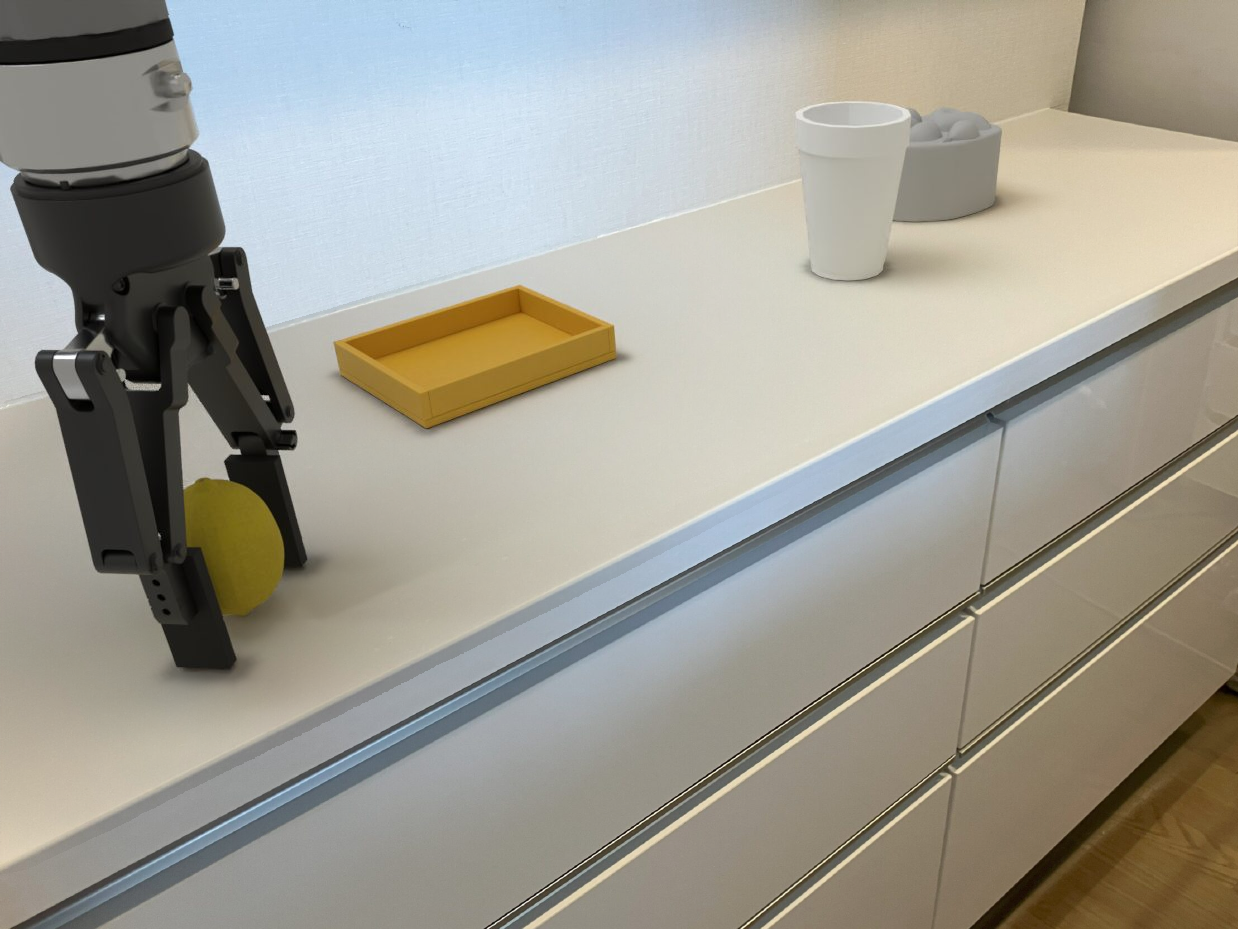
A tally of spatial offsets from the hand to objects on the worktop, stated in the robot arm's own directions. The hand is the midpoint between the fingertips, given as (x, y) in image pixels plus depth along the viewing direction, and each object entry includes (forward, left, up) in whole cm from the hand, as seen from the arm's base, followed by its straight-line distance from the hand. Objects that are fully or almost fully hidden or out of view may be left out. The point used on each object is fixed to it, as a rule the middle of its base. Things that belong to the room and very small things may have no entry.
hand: (246, 609), depth 59 cm
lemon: (0, 0, 0) cm, 1 cm away
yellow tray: (+4, +31, 0) cm, 31 cm away
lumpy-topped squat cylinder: (+39, +72, 0) cm, 82 cm away
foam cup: (+31, +53, 0) cm, 61 cm away
